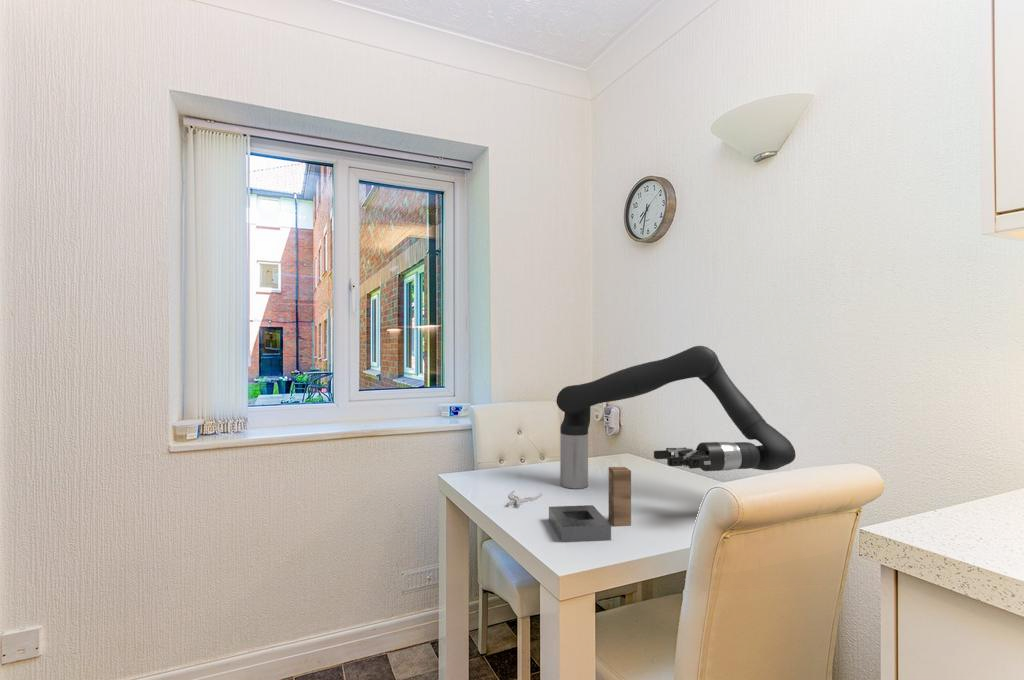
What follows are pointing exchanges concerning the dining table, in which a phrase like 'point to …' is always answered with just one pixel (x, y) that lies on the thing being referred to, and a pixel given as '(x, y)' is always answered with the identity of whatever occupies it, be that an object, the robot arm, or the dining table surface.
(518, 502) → the pliers
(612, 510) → the walnut peg
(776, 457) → the robot arm
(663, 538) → the dining table surface
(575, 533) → the socket block
